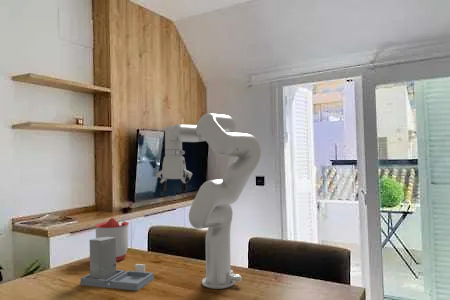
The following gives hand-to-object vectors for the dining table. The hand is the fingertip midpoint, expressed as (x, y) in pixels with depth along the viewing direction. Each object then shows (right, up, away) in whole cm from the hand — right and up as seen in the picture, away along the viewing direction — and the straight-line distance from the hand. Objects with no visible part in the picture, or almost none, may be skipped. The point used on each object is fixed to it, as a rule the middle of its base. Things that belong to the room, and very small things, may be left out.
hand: (174, 191), depth 157 cm
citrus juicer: (-32, -34, +14) cm, 49 cm away
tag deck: (-19, -33, -19) cm, 43 cm away
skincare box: (-26, -33, -17) cm, 45 cm away
